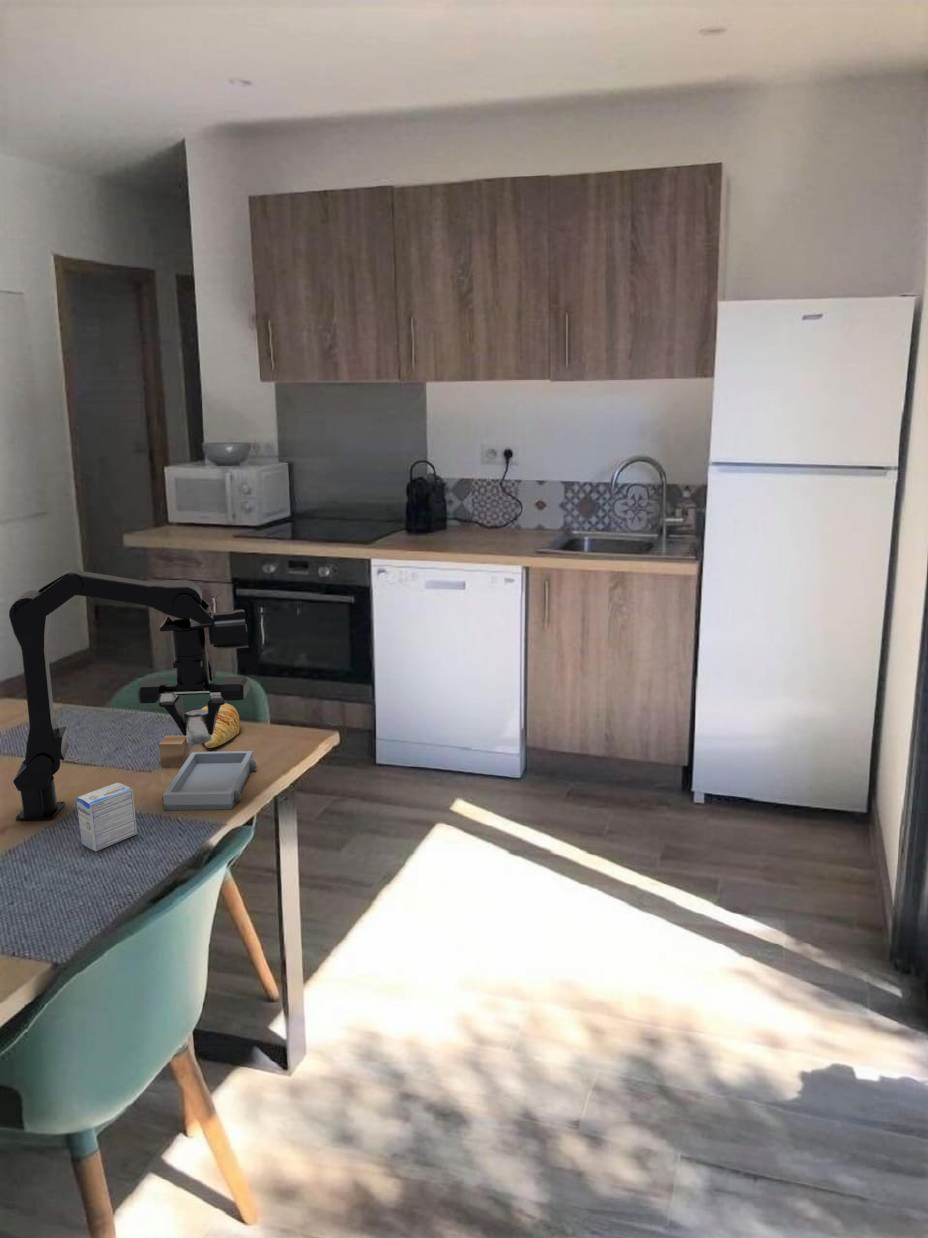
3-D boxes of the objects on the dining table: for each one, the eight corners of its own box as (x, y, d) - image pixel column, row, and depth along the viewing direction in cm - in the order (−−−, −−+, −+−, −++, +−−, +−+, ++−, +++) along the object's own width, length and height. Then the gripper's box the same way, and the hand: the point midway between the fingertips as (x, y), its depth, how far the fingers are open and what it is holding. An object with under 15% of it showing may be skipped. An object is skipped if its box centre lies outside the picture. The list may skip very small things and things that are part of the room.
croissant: (226, 767, 205) (242, 734, 204) (180, 748, 203) (196, 715, 201) (235, 728, 225) (250, 698, 224) (193, 711, 223) (208, 681, 221)
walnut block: (184, 767, 196) (181, 743, 195) (161, 767, 196) (158, 744, 195) (190, 758, 201) (187, 735, 199) (167, 759, 201) (165, 735, 199)
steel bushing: (208, 743, 179) (205, 717, 177) (184, 744, 179) (181, 718, 177) (214, 734, 183) (211, 709, 182) (190, 735, 183) (187, 709, 182)
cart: (237, 809, 177) (236, 793, 176) (158, 810, 177) (157, 795, 176) (258, 765, 197) (257, 750, 196) (188, 766, 197) (186, 752, 196)
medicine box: (123, 828, 171) (118, 781, 169) (138, 835, 168) (133, 787, 166) (81, 845, 165) (75, 797, 163) (95, 853, 162) (89, 804, 160)
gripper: (251, 638, 184) (258, 717, 188) (150, 641, 184) (159, 720, 188) (239, 655, 174) (246, 739, 178) (132, 658, 173) (142, 742, 177)
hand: (198, 734), depth 180 cm, fingers closed on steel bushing, 4 cm apart
